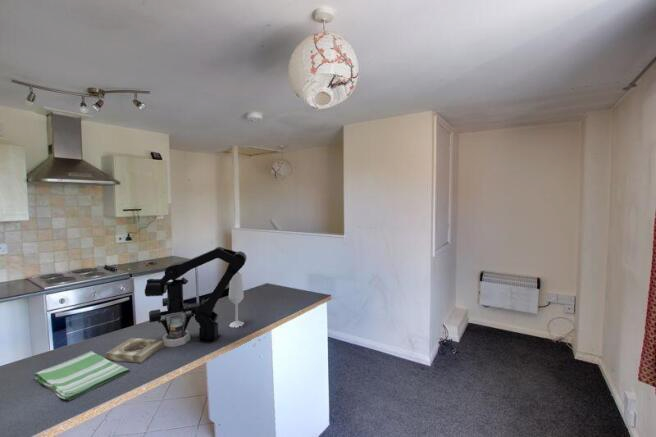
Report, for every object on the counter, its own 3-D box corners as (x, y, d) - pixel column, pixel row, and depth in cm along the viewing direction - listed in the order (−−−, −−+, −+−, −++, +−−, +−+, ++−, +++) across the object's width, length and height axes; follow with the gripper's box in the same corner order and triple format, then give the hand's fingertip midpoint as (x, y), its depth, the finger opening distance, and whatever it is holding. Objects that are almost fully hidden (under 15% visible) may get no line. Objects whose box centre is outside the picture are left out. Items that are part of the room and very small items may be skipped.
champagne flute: (241, 320, 146) (240, 270, 144) (246, 325, 141) (245, 273, 139) (227, 323, 142) (226, 272, 141) (231, 328, 137) (230, 275, 135)
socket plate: (164, 346, 121) (163, 340, 120) (141, 362, 109) (141, 356, 109) (131, 343, 123) (131, 337, 122) (106, 359, 111) (105, 353, 111)
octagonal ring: (194, 336, 129) (194, 330, 129) (180, 347, 120) (180, 341, 120) (173, 334, 131) (173, 329, 130) (158, 345, 121) (157, 339, 121)
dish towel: (65, 404, 88) (65, 395, 87) (31, 381, 99) (30, 373, 98) (130, 373, 103) (130, 365, 103) (94, 355, 114) (94, 348, 114)
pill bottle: (168, 345, 121) (168, 321, 121) (168, 339, 126) (168, 316, 126) (184, 342, 124) (184, 318, 123) (184, 336, 129) (183, 313, 128)
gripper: (196, 286, 136) (197, 320, 137) (147, 293, 126) (149, 330, 127) (201, 293, 126) (202, 330, 127) (148, 301, 116) (150, 341, 117)
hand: (176, 332), depth 125 cm, fingers closed on pill bottle, 6 cm apart
